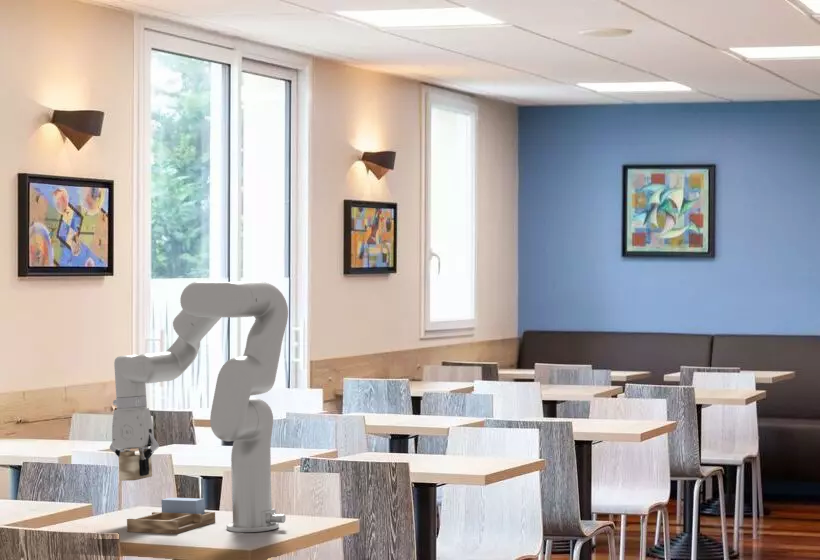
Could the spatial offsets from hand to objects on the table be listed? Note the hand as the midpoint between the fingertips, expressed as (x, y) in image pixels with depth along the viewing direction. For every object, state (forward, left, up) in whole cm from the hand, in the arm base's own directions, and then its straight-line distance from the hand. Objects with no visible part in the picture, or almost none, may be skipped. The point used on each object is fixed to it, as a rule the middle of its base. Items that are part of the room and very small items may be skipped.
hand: (136, 474), depth 365 cm
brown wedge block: (0, 0, -1) cm, 1 cm away
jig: (-14, +6, -12) cm, 19 cm away
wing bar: (-14, 0, -11) cm, 18 cm away
